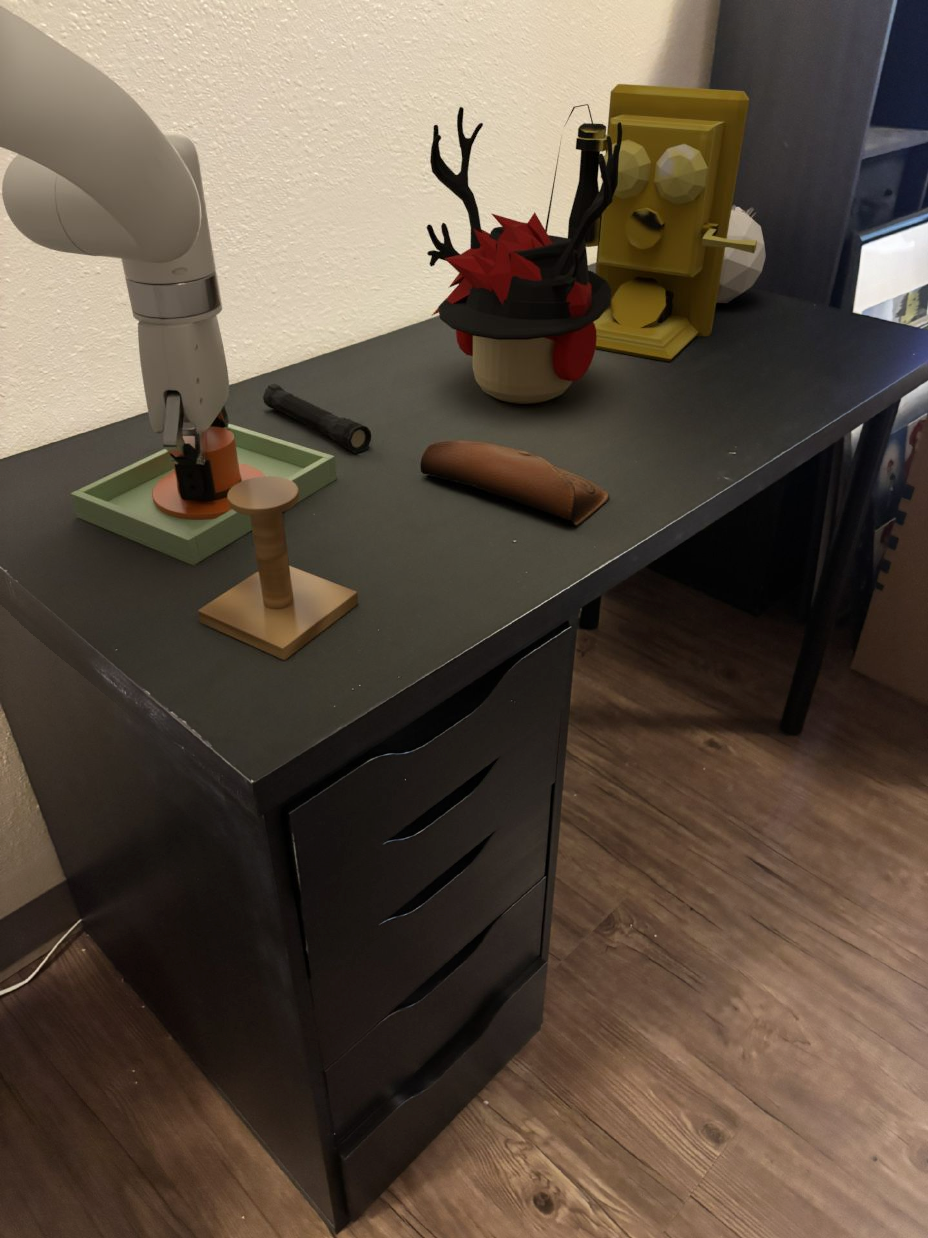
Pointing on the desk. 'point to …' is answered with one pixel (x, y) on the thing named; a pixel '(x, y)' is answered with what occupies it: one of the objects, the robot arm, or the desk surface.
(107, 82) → the robot arm
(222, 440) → the small hat
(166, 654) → the desk surface
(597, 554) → the desk surface
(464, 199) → the decorative hat
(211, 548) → the tray
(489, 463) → the sunglasses case
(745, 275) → the geodesic sphere
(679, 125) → the vintage telephone
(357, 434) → the flashlight
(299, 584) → the hat stand
